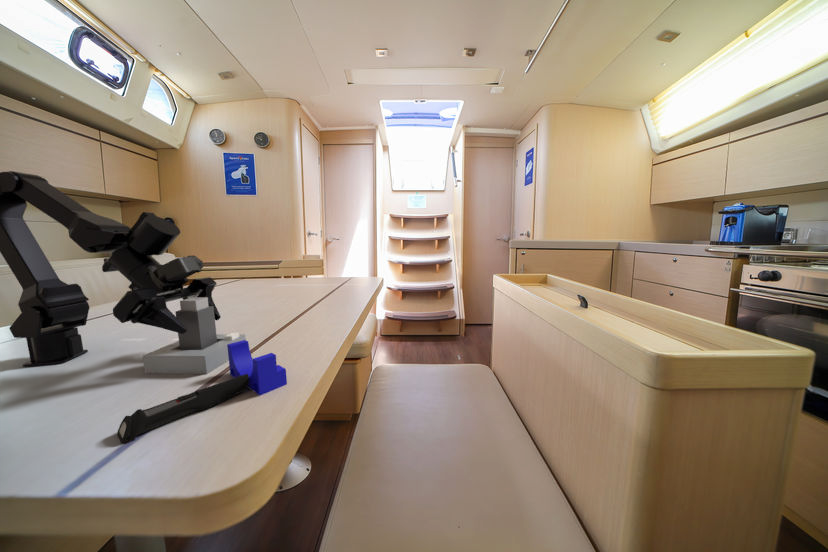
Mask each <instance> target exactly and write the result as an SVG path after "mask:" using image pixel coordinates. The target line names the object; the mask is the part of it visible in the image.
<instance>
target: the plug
mask: <svg viewBox="0 0 828 552" xmlns="http://www.w3.org/2000/svg"><path fill="white" fill-rule="evenodd" d="M179 304H180V306H179V307H180V309H179V310H176V311H175V316H176V317H177V318H178V319H179V320H180V321H181V322H182V323H183V325H184V326H185V327H186V328H187V331H186V332H185V333H184V334H181V333H177V335H178V341H179V345H180V350H203V349H205V348H207V347H209V346H211V345H213V344H215V343H217V335H216V334H217V328H216V327H217V325H216V320H215V316H214V306H208V297H197V298H189V299H185V300H183V299H182V300H181V299H180V300H179Z"/></svg>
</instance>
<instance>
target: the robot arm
mask: <svg viewBox="0 0 828 552" xmlns="http://www.w3.org/2000/svg"><path fill="white" fill-rule="evenodd" d="M28 204H29V205H32V206H33V207H34V208H36V209H38V211H40V212H42V213H43V214H45V215H47V216H49V218H51V219H53V220H54V221H56V222H57V223H59V224H60V225H62V226H63V227H64V228H66V229H67V230H68V236H69V239H71V240H72V241H73V242H74V243H75V244H76V245H77V246H79V247H80V248H81V249H82V250H83V251H84V252H86V253H89V254H93V253H95V254H97V253H111V254H110V256H109V257H107V258H103V264H102V267H101V271H102V273H109V272H111V273H112V272H119V273H120V274H121V275H122V276H124V278H126V279H127V280H128V281H129V282H130V284H129V286H128V289H130V290H128V291H126V293H124V295H123V296H122V297H121V298H120V299H119V301H118V302H117V304H115V305H114V306H113V308H112V315H113V317H114V318H115V319H117V320H118V321H119V322H120V323H122V324H124V323H127V322H130V323H132V324H142V325H146V326H151V327H156V328H159V329H163V330H167V331H170V332H174V333H177V334H178V333H181V334H184V333H185V332H186V331H187V328H186V327H185V326H184V325H183V323H182V322H181V321H180V320H179V319H178V318H177V317H176V314H174V313H173V312H172V311H171V310H170V309H169V308H168V306H167V303H168V302H173V301H177V300H181V299H182V300H185V299H189V298H197V297H208V306H214V316H215V321H219V320H220V319H221V314H220V313H219V310H218V308H217V306H216V305H215V301H214V299H213V296H212V294H213V291H214V290H215V287H216V286H217V284H218V283H217V282H216V281H215V280H214V279H213V278H212V277H207V276H206V277H200V278H194V279H192V281H191V282H190V283H189V284H188V285H187V287H184V285H185V284H187V282H188V281H189V280H190V279H188V278H189V277H190V276H192V275H195V274H196V273H197V274H199V273H201V272H202V271H203V270H202V269H203V268H204V262H203V260H202V259H200V258H199V257H197V256H196V255H195V254H194V255H187V256H185V257H184V256H183V257H176V258H174V259H172V260H170V261H168V262H166V263H165V264H161V263H160V262H159V261H158V260H156V258H154V257H153V256H162V255H163V254H164V253H165V252H166V251H167V250H168V248H169V247H170V246H171V245H172V244H174V242H175V241H176V239H177V238H178V237H179V236H180V234H181V230H180V228H179V227H178V226H177V225H176V224H175V223H172V222H170V221H168V220H167V219H165V218H163V217H160V216H157V215H156V214H155V213H154V212H147V211H146V212H145V211H143V212H142V213H141V214H140V215H139V216H138V218H137V220H136V222H134V224H133V226H132V227H130V226H129V225H127V224H125V223H122V222H120V221H117V220H115V219H113V218H109V217H106V216H102V215H99V214H96V213H94V212H92V211H91V210H90V209H88V208H86V207H85V206H83V205H82V204H80V203H79V202H77V201H76V200H74V199H73V198H72V197H70V196H68V195H67V194H66V193H64V192H62V191H61V190H59V189H58V188H56V187H55V186H54V185H52V184H51V183H49V182H48V180H47V179H46V177H45V178H44V177H42V176H40V175H36V174H32V173H31V174H30V173H26V172H20V171H13V170H8V171H1V172H0V254H1V256H2V257H3V259H4V260H5V263H6V264H7V265H8V266H9V268H10V271H11V272H12V273H13V276H14V278H16V280H17V282H18V284H19V285H20V287H21V288H22V292H21V295H20V297H19V298H20V299H19V301H18V303H17V305H18V307H19V311H20V312H21V313H20V314H19V315H18V317H17V318H16V319H15V320H14V321H13V323H12V324H11V325H10V326H9V331H10V332H11V334H12V336H13V337H14V338H15V339H17V338H19V339H20V338H21V339H23V338H24V339H26V344H27V348H28V354H29V360H30V361H27V362H24V363H23V364H22V367H24V368H25V367H34V366H44V365H45V366H46V365H55V364H62V363H63V364H64V363H66V362H68V361H71V360H72V359H75V358H78V357H79V356H82V355H84V354H86V353H88V352H89V351H88V349H84V346H83V345H84V344H83V339H82V334H80V333H79V330H78V329H79V328H78V327H82V326H86V325H87V321H88V316H89V310H90V305H89V300H90V298H88V297H86V296H87V295H85V293H84V292H83V289H82V287H81V285H79V284H78V283H69V284H68V283H66V282H64V281H62V280H61V279H60V278H59V276H58V274H57V273H56V271H55V269H54V267H53V266H52V264H51V262H50V261H49V259H48V257H47V256H46V254H45V253H44V251H43V249H42V247H41V245H40V244H39V243H38V241H37V239H36V237H35V235H33V233H32V231H31V229H30V227H29V226H28V224H27V223H26V221H25V219H24V214H25V212H26V209H27V207H28Z"/></svg>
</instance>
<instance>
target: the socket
mask: <svg viewBox="0 0 828 552" xmlns="http://www.w3.org/2000/svg"><path fill="white" fill-rule="evenodd" d="M216 335H217V343H215V344H213V345H211V346H209V347H207V348H205V349H203V350H180V345H179V340H177V341H174V342H172V343H170V344H167V345H165V346H162V347H160V348H158V349H156V350H155V349H154V350H153V351H150V352H148V353H146V354H143V355H142V359H143V365H144V372H145V374H176V375H177V374H180V375H182V374H183V375H184V374H185V375H187V374H189V375H191V374H193V375H194V374H195V375H196V374H197V375H201V374H202V375H204V374H205V375H208V374H210V372H212V371H214V370H216V369H218V367H221V366H222V365H224V364H226V363H227V362H229V357H228V347H227V344H231V343H235V342H239V341H243V340H246V339H247V338H246V334H240V332H231V333H228V334H226V333H225V334H223V333H222V334H220V333H219V334H217V333H216ZM246 341H247V340H246Z"/></svg>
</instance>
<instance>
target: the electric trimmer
mask: <svg viewBox="0 0 828 552" xmlns="http://www.w3.org/2000/svg"><path fill="white" fill-rule="evenodd" d="M248 380H249V375H248V374H244V375H241V376H238V377H235V378H234V377H232V378H230V379H227V380H224V381H221V382H219V383H218V382H217V383H216V384H213V385H210V386H206V387H204V388H201V389H198V390H195V391H194V392H191V393H188V394H184V395H181V396H178V397H176V398H175V399H171V400H169V401H166V402H164V403H161V404H158V405H155V406H152V407H150V408H149V407H148V408H146V409H141V408H140V409H139V408H138V409H136V410H135V411H134V412H133V413H132V414H131V415H125V416H124V418H123V419H122V421H121V423H120V424H119V428H117V433H116V436H117V438H118V440H119V443H120V444H121V445H122V444H124V443H126V442H128V443H130V442H133V441H135V440H136V438H137V437H138V435H142V434H143V433H146V432H148V431H151V430H154V429H156V428H158V427H161V426H163V425H166V424H167V423H170V422H172V421H175V420H177V419H180V418H181V417H184V416H186V415H189V414H191V413H194V412H196V411H203V410H205V411H206V410H207V409H210V408H212V407H213V406H215V405H217V404H219V403H222V402H223V401H225V400H228V399H229V398H231V397H233V396H235V395H237V394H240V393H241V392H242V391H243V392H244V391H245V390H246V389H247V388H248V387H247V386H248Z"/></svg>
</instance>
